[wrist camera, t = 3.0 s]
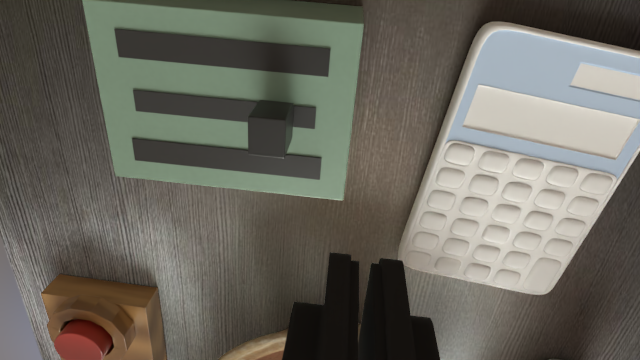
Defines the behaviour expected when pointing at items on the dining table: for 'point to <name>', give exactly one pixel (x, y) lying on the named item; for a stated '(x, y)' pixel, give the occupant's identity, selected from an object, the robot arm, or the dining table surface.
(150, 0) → the toaster
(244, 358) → the bowl
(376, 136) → the dining table surface
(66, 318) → the block
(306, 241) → the dining table surface
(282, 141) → the slider
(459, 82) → the calculator
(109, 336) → the button
